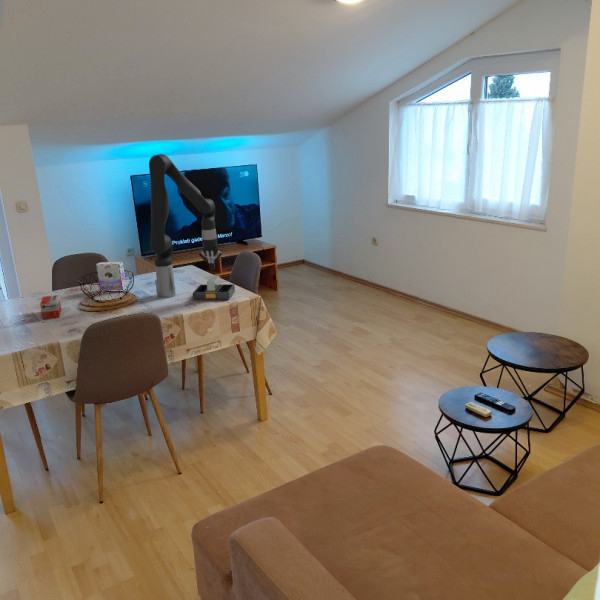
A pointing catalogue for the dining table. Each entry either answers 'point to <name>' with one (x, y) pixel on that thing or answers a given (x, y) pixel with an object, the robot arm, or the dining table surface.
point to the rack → (221, 294)
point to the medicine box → (50, 307)
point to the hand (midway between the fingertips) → (212, 269)
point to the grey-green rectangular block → (213, 284)
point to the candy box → (111, 276)
